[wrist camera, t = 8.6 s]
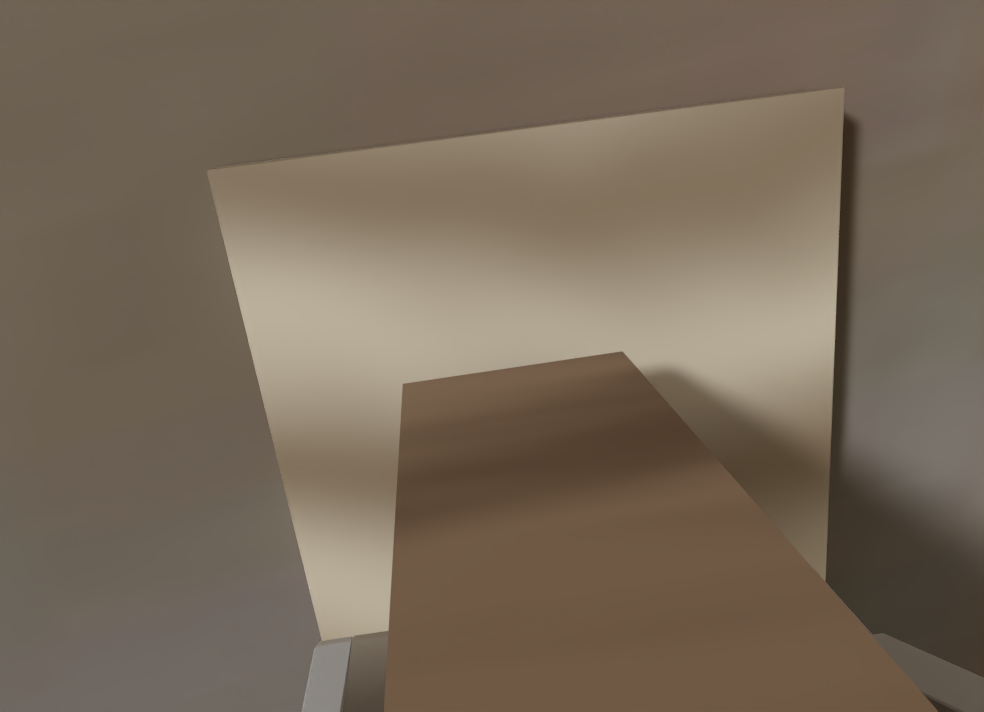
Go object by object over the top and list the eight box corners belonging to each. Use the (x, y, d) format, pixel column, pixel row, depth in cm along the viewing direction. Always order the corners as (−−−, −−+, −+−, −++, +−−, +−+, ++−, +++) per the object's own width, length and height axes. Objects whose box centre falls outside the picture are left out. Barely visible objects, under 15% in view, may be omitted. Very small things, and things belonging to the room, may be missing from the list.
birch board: (223, 166, 14) (206, 170, 13) (811, 89, 15) (844, 87, 13) (354, 716, 19) (350, 754, 17) (798, 639, 19) (821, 672, 18)
